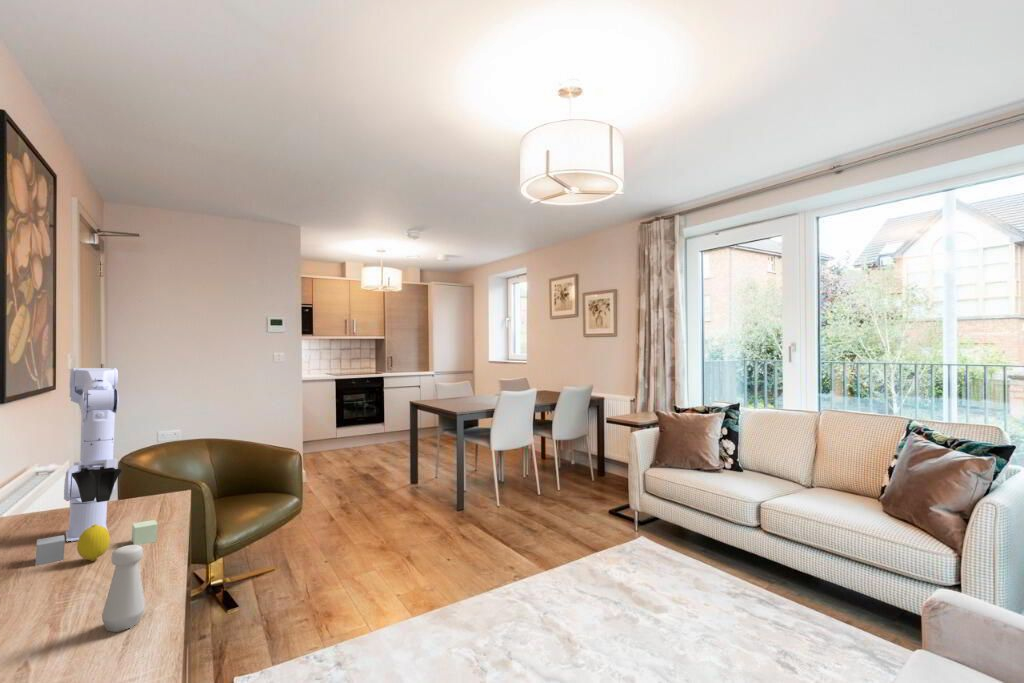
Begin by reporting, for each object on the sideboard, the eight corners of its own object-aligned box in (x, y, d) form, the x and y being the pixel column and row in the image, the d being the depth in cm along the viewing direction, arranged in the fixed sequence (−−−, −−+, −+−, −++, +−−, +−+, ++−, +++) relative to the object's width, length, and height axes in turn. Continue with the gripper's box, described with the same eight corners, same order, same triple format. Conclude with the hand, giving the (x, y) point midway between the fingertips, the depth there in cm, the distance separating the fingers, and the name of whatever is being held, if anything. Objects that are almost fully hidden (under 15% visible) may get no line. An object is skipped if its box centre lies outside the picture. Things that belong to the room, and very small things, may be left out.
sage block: (131, 541, 120) (132, 523, 120) (153, 537, 123) (154, 519, 124) (133, 547, 117) (134, 528, 117) (156, 542, 120) (157, 524, 120)
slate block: (35, 560, 109) (36, 539, 109) (63, 554, 112) (64, 535, 112) (35, 566, 105) (36, 545, 106) (63, 560, 108) (64, 540, 109)
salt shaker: (96, 638, 78) (100, 556, 79) (106, 621, 83) (110, 544, 84) (141, 629, 81) (145, 550, 82) (147, 613, 86) (151, 539, 87)
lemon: (89, 567, 105) (92, 529, 105) (69, 564, 106) (71, 527, 106) (115, 557, 110) (117, 521, 111) (95, 555, 111) (97, 519, 112)
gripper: (63, 444, 113) (59, 504, 111) (90, 440, 106) (87, 504, 104) (100, 442, 119) (97, 499, 117) (128, 438, 112) (126, 498, 110)
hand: (95, 501), depth 111 cm, fingers open, 7 cm apart
